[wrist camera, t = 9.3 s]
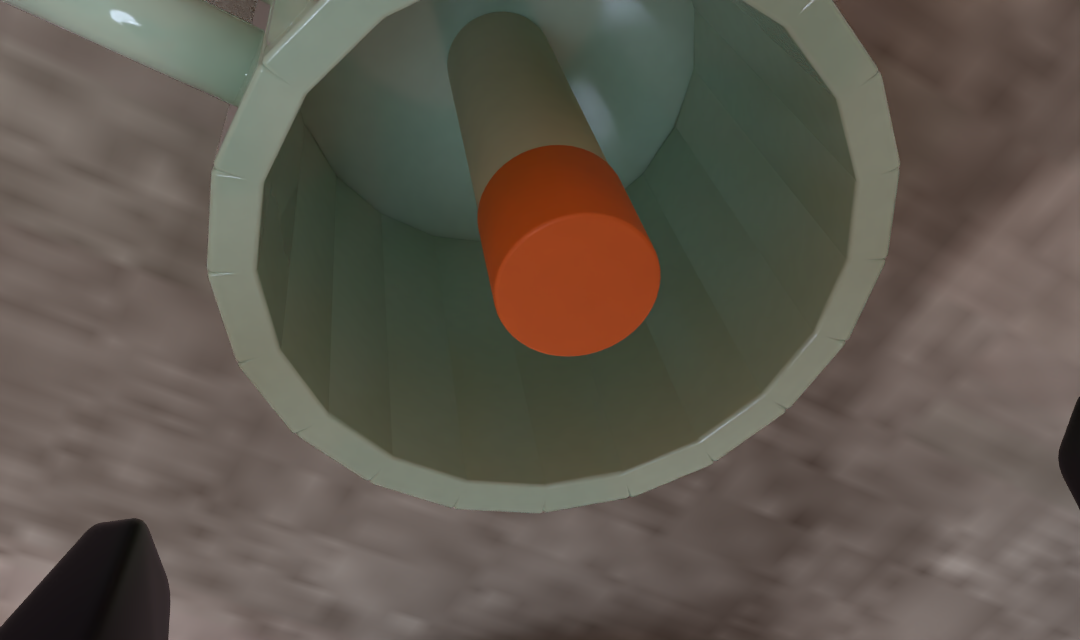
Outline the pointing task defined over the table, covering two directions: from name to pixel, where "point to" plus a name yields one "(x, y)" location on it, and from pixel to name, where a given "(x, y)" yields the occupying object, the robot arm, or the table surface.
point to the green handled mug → (455, 246)
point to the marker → (546, 196)
